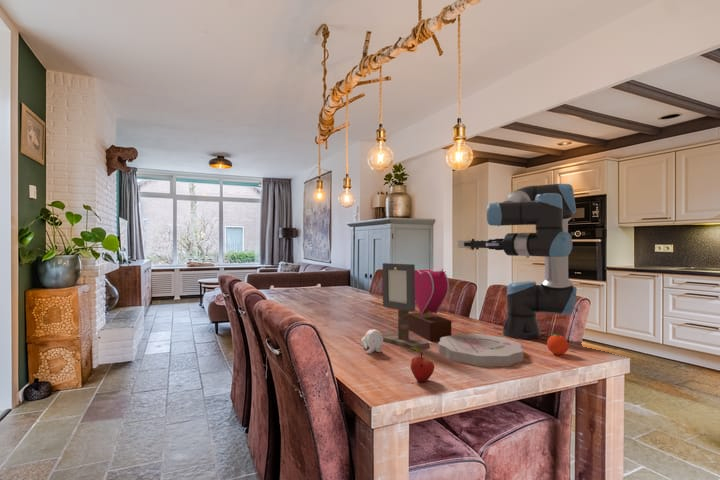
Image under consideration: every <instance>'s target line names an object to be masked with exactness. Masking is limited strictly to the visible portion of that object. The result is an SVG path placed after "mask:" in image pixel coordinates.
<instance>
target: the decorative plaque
mask: <svg viewBox="0 0 720 480" xmlns="http://www.w3.org/2000/svg"><path fill="white" fill-rule="evenodd" d="M437 345H438V347H437V349H438V350H437V351H438V353H439V354H440V355H442V356H444V357H447V358H448V359H449V360H450V361H452V362H459V363H465V364H469V365H473V366H477V367H489V366H492V367H495V366H496V367H508V366H511V365H513V364H516V363H521V362H523V361H524V349H523V348H522V344H521V343H519V342H516V341H512V340H510V339H508V338H507V337H502V336H494V335H488V334H485V333H483V334H482V333H455V334H451V336H445V337H441V338H440V340H439V342H438V343H437Z"/></svg>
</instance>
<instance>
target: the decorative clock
mask: <svg viewBox="0 0 720 480" xmlns="http://www.w3.org/2000/svg"><path fill="white" fill-rule="evenodd" d="M449 291H450V282H449V278H448V276H447V273H446V270H445V271H444V268H442V269H441V270H438V271H436V270H435V271H434V269H432V268H431V269H430V268H429V269H415V304H416V306H417V308H418V311H419V312H410V313H409V332H412V333H413V334H416V335H418V336H419V337H422V338H424V339H425V340H427V341H428V342H435V341H440V338H441V337H445V336H451V335H452V322H453V321H452V320H449V319H447V318H445V317H442V316H439V315H437V313H438V312H439V309H440V308H441V307H442V305H443V303H444V301H446V299H447V296H448V295H449Z"/></svg>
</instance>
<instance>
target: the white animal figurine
mask: <svg viewBox="0 0 720 480" xmlns="http://www.w3.org/2000/svg"><path fill="white" fill-rule="evenodd" d="M381 334H382V332H380V331H379V330H377V329H368V331H366V333H365V335H364V336H363V337H362V338H361V340H360V341H361V347H362V348H365V350H366V351H365V354H367V355H369V354H372V353H373V352H374V351H376V353H381V352H382V350H381V348H382V347H383V342H384V341H383V337H382V335H381ZM368 347H369V349H368Z"/></svg>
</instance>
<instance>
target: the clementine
mask: <svg viewBox="0 0 720 480" xmlns="http://www.w3.org/2000/svg"><path fill="white" fill-rule="evenodd" d="M546 345H547V346H546V347H547V349H548V350H549V351H550V353H552V354H555V355H557V356H560V355H563V354H566V352H568V349H569V343H568V340H567V339H566V338H565V337H564V336H562V335H559V334H550V335H549V336H548V339H547V342H546Z"/></svg>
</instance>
